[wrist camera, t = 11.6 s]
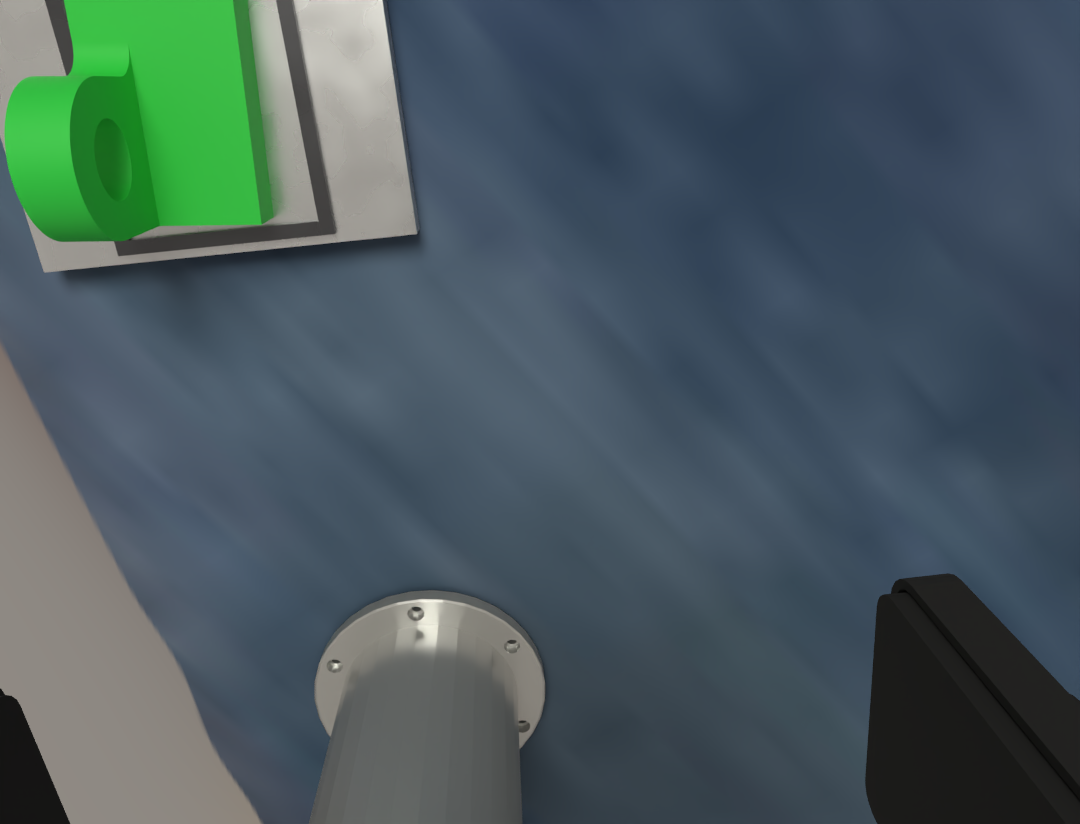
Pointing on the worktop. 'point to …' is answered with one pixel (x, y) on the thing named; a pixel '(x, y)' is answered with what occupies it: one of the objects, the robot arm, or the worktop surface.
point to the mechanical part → (143, 123)
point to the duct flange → (267, 130)
